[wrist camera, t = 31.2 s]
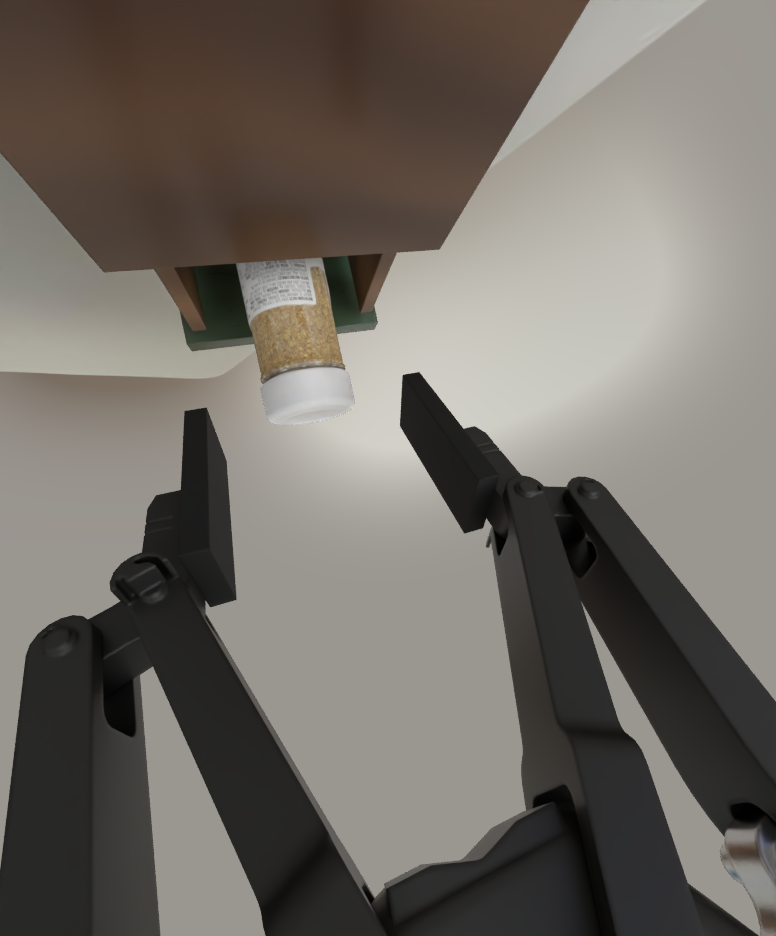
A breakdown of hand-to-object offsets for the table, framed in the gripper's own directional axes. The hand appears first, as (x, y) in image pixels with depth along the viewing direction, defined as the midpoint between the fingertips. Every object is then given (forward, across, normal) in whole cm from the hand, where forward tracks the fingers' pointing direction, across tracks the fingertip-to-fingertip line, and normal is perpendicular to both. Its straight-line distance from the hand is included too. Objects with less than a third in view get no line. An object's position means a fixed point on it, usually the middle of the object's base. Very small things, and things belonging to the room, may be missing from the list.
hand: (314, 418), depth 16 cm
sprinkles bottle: (+13, 0, +7) cm, 15 cm away
